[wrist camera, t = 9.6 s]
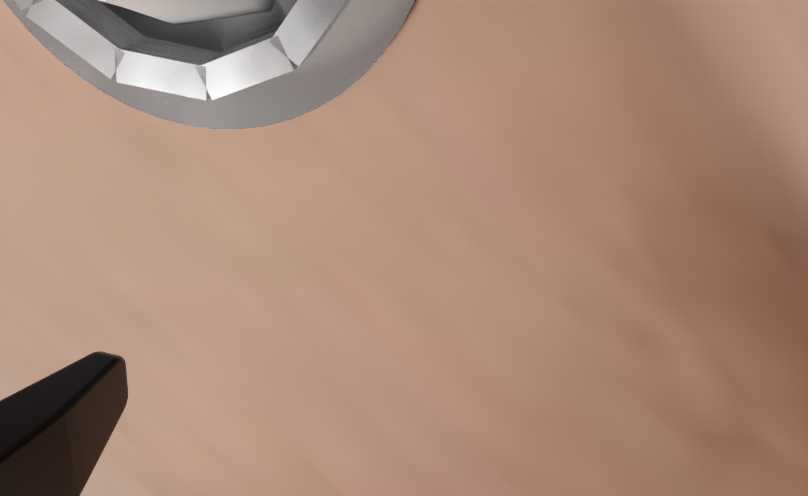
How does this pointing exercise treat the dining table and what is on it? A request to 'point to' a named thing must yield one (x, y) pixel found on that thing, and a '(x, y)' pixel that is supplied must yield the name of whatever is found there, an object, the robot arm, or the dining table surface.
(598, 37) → the dining table surface
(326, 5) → the duct flange
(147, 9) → the flask
